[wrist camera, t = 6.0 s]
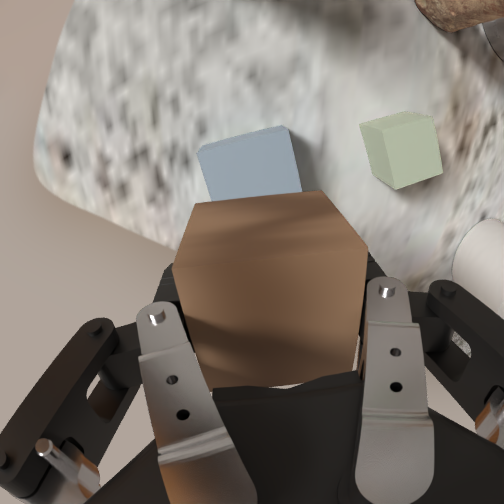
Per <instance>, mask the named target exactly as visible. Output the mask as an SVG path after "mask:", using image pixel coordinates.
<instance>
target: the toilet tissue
mask: <svg viewBox="0 0 504 504" xmlns="http://www.w3.org/2000/svg"><path fill="white" fill-rule="evenodd" d="M452 276H453V281H454V282H455V283H457V284H459V285H460V286H462V287H463V288H464V289H466V290H467V291H468V292H470V293H471V294H472V295H473V296H475V297H476V298H477V299H479V300H480V301H481V302H483V303H484V304H485V305H486V306H488V307H489V308H490V309H491V310H493V311H494V312H495V313H496V314H498V315H499V316H500V317H501V318H502V319H504V223H503V222H501V221H500V220H497V219H491V218H490V219H486V220H483V221H481V222H479V223H478V224H477V225H475V226H474V227H473V228H472V229H471V230H470V231H469V232H468V233H467V234H466V236H465V237H464V238H463V240H462V242H461V243H460V245H459V247H458V249H457V251H456V254H455V257H454V261H453V267H452Z"/></svg>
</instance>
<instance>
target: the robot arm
mask: <svg viewBox="0 0 504 504" xmlns="http://www.w3.org/2000/svg"><path fill="white" fill-rule="evenodd" d="M483 26H484V30H485V32H486V35H487V38H488V40H489V42H490V44H491V45H492V47H493V49H494V50H495V52H496V53H497V54H498V56H499V57H500V58H501V59H502V60H503V61H504V17H502V18H499V19H496V20H492V21H489V22H485V23H483ZM172 266H173V263H171V264H170V265H169V266H168V267H167V268H166V269H165V270H164V273H163V275H162V279H161V281H160V284H159V286H158V289H157V292H156V295H155V297H154V300H153V303H151V304H149V305H147V306H145V307H144V308H142V309H141V310H140V311H139V313H138V314H137V317H136V322H134V323H131V324H128V325H124V326H121V327H117V328H115V326H114V324H113V322H112V321H111V320H110V319H108V318H96V319H93V320H90V321H88V322H87V323H85V324H84V325H83V326H82V327H81V328H80V329H79V330H78V331H77V332H76V334H75V335H74V336H73V337H72V338H71V340H70V341H69V342H68V343H67V345H66V346H65V347H64V348H63V350H62V351H61V352H60V353H59V355H58V356H57V357H56V358H55V360H54V361H53V362H52V364H51V365H50V366H49V367H48V369H47V370H46V371H45V372H44V374H43V375H42V377H41V378H40V379H39V380H38V382H37V383H36V384H35V386H34V387H33V388H32V390H31V391H30V393H29V394H28V395H27V397H26V398H25V399H24V401H23V402H22V403H21V405H20V406H19V408H18V409H17V410H16V412H15V413H14V415H13V416H12V418H11V419H10V420H9V422H8V423H7V425H6V426H5V428H4V429H3V431H2V432H1V434H0V486H1V487H2V488H4V489H5V490H7V491H8V492H9V493H10V494H11V495H12V496H13V497H15V498H16V499H18V500H20V501H21V502H23V503H24V504H504V319H502V318H501V317H500V316H499V315H498V314H496V313H495V312H494V311H493V310H491V309H490V308H489V307H488V306H486V305H485V304H484V303H483V302H481V301H480V300H479V299H477V298H476V297H475V296H473V295H472V294H471V293H470V292H468V291H467V290H466V289H464V288H463V287H462V286H460V285H459V284H457V283H455V282H453V281H449V280H437V281H434V282H433V283H431V285H430V287H429V291H428V293H424V292H410V291H407V287H406V285H405V284H404V283H403V282H402V281H400V280H398V279H396V278H392V277H387V276H386V275H385V273H384V272H383V271H382V269H381V268H380V266H379V265H378V264H377V262H375V260H374V258H373V257H372V256H371V254H370V253H369V252H368V257H367V268H366V278H365V287H364V296H363V304H362V312H361V319H360V326H359V333H358V334H359V336H360V341H359V348H358V360H357V369H356V370H355V371H349V372H344V373H338V374H333V375H327V376H322V377H319V378H317V379H314V380H311V381H309V382H306V383H303V384H301V385H298V386H295V387H292V388H288V389H279V388H269V387H259V386H249V385H247V386H235V387H220V388H213V391H212V396H211V394H210V392H209V389H208V387H207V384H206V382H205V380H204V377H203V375H202V372H201V370H200V367H199V365H198V362H197V360H196V357H195V354H194V353H195V350H194V347H193V344H192V340H191V337H190V334H189V330H188V327H187V324H186V320H185V317H184V313H183V310H182V306H181V302H180V299H179V295H178V292H177V288H176V284H175V280H174V276H173V273H172ZM454 331H455V332H456V333H458V334H459V335H460V336H461V337H462V338H463V339H464V340H465V341H466V342H467V343H468V344H469V346H470V348H471V358H470V357H469V356H468V355H467V354H465V353H464V352H463V351H462V350H461V349H460V348H459V347H458V346H457V345H456V344H455V343H454V342H453V341H452V340H451V339H452V336H453V334H454ZM425 366H426V367H427V369H428V370H429V371H430V372H431V373H432V374H433V375H434V376H435V377H436V379H437V380H438V381H439V382H440V383H441V384H442V385H443V386H444V387H445V388H446V390H447V391H448V392H449V393H450V394H451V395H452V397H453V398H454V399H455V400H456V401H457V402H458V403H459V405H460V406H461V407H462V408H463V409H464V410H465V411H466V413H467V414H468V415H469V416H470V417H471V418H472V419H473V421H474V422H475V429H476V432H477V434H476V433H474V432H472V431H470V430H468V429H467V428H465V427H463V426H461V425H459V424H457V423H456V422H454V421H452V420H450V419H448V418H446V417H445V416H443V415H441V414H439V413H438V412H436V411H434V410H432V409H431V408H429V407H428V403H427V402H428V401H427V387H426V376H425ZM97 374H98V375H99V377H100V381H99V382H98V384H97V385H96V387H95V388H94V390H93V391H92V393H91V395H90V396H89V398H88V399H87V397H86V394H87V389H88V387H89V386H90V384H91V382H92V381H93V379H94V378H95V377H96V375H97ZM141 384H143V387H144V392H145V397H146V401H147V406H148V411H149V415H150V419H151V424H152V428H153V432H154V436H155V439H154V440H153V441H151V442H150V444H148V445H147V446H146V447H145V448H144V449H143V450H142V451H141V452H140V453H139V454H138V455H137V456H136V457H135V458H133V459H132V460H131V461H130V462H129V463H128V464H127V465H126V466H125V467H124V468H123V469H121V470H120V471H119V472H118V473H117V474H116V475H115V476H114V477H113V478H112V479H111V480H109V481H108V482H107V483H106V484H105V485H104V486H103V487H101V486H100V484H99V482H100V474H99V471H98V468H97V467H98V465H99V463H100V461H101V459H102V457H103V455H104V453H105V451H106V450H107V448H108V446H109V444H110V442H111V440H112V438H113V436H114V434H115V433H116V431H117V429H118V427H119V425H120V423H121V421H122V419H123V418H124V416H125V414H126V412H127V410H128V408H129V406H130V405H131V403H132V401H133V399H134V397H135V395H136V393H137V392H138V390H139V388H140V385H141Z"/></svg>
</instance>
